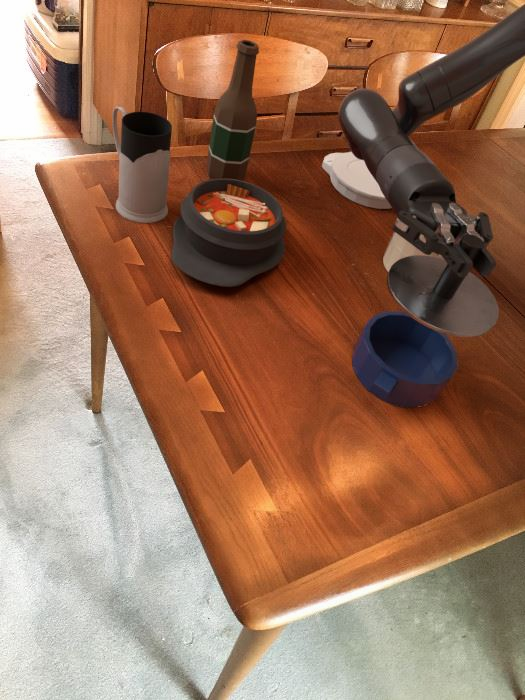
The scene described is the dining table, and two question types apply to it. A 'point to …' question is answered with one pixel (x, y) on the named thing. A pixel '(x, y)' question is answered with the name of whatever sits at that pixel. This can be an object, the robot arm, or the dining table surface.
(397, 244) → the pot
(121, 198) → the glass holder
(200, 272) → the casserole
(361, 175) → the lid
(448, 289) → the steel lid
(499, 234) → the dining table surface
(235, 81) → the beer bottle
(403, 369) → the pan
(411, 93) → the robot arm
